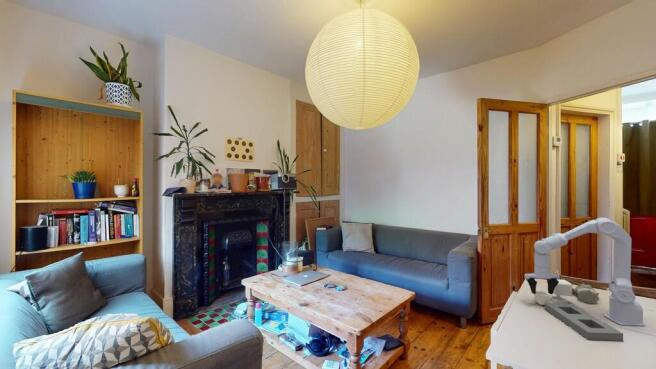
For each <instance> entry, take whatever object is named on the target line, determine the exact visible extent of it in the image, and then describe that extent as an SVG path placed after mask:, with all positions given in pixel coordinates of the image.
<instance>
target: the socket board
mask: <svg viewBox="0 0 656 369" xmlns="http://www.w3.org/2000/svg"><path fill="white" fill-rule="evenodd" d="M544 310H545V311H546V312H548V313H549V314H550V315H552V316H553V317H554V318H557V320H559V321H560V320H561V321H560V322H562V323H563V322H564V323H563V324H565V325H566V324H567V325H566V326H568V327H569V328H570V327H571V329H572V330H573V331H575V332H576V333H578V334H579V335H580V336H581V337H583V338H584V339H586V340H587V341H600V342H601V341H604V342H605V341H607V342H624V333H623V332H622V331H620V330H618V329H616V328H615V327H613V326H611V325H609V324H608V323H606V322H604V321H602V320H601V319H599V318H597V317H596V316H594V315H593V314H591V313H589V312H588V311H586V310H584V309H582V308H581V307H579V306H577V305H575V303H568V304H564V303H555V302H553V303H552V302H550V303H545V305H544Z"/></svg>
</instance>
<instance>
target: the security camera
mask: <svg viewBox="0 0 656 369" xmlns="http://www.w3.org/2000/svg"><path fill="white" fill-rule="evenodd" d="M558 281H559V283H558V284H557V286H556V287H555V289H554V291H553V295H550V301H552V302H553V303H559V304H569V302H568V299H565V298H564V297H565V296H566V297H572V296H573V292H572V288H573V285H572V283H571V282H569V281H567V280H565V279H560V278H559V280H558Z"/></svg>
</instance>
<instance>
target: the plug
mask: <svg viewBox="0 0 656 369" xmlns="http://www.w3.org/2000/svg"><path fill="white" fill-rule="evenodd" d="M533 295H534V298H533V299H534V301H535V302H536V303H538V305H539V306H545V303H551V300H550V296H551V294H549V293H546V292H544V291H543V290H542V291H539V290H538V291H537V290H536V294H533Z"/></svg>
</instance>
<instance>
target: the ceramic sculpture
mask: <svg viewBox="0 0 656 369" xmlns="http://www.w3.org/2000/svg"><path fill="white" fill-rule="evenodd" d="M572 294H574V295H577V297H578V298H579V300H581V302H583V303H587V304H595V303H596V302H598V300H599V292H596V289H594V287H593V286H592V285H590V284H589V283H587V282H584V283H578V284H577V286H576V288H575V287H572Z"/></svg>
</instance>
